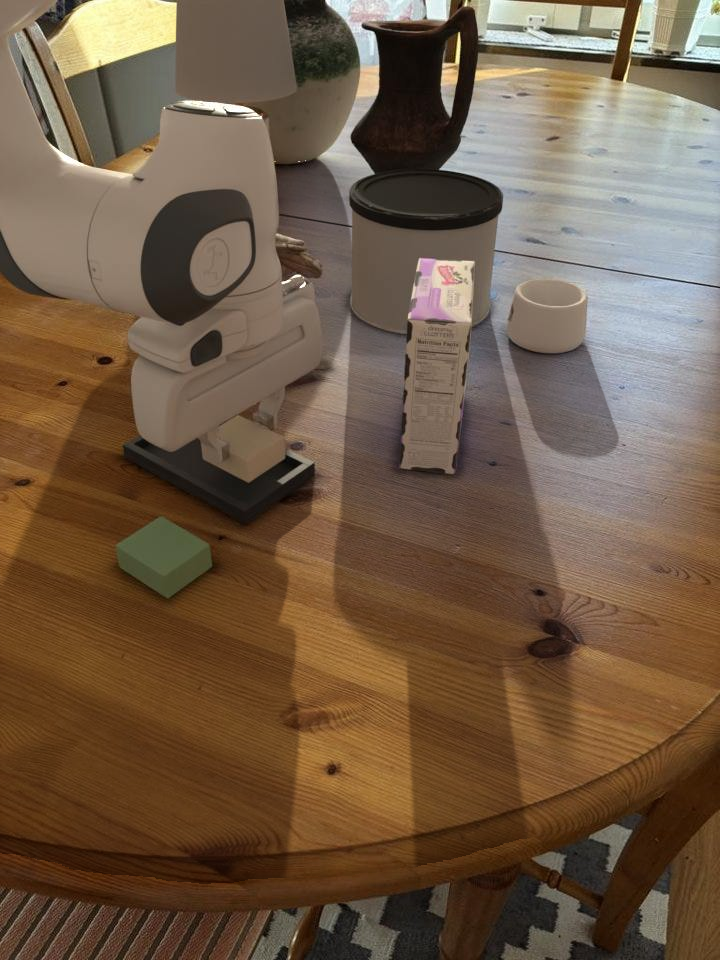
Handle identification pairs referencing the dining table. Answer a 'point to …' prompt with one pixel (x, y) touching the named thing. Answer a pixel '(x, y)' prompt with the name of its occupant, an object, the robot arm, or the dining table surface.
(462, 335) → the candy box
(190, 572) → the sage pad
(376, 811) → the dining table surface
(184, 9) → the lamp
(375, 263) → the container
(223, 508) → the dark serving tray
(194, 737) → the dining table surface
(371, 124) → the jug
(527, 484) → the dining table surface
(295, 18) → the vase
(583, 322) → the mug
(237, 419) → the cream pad
